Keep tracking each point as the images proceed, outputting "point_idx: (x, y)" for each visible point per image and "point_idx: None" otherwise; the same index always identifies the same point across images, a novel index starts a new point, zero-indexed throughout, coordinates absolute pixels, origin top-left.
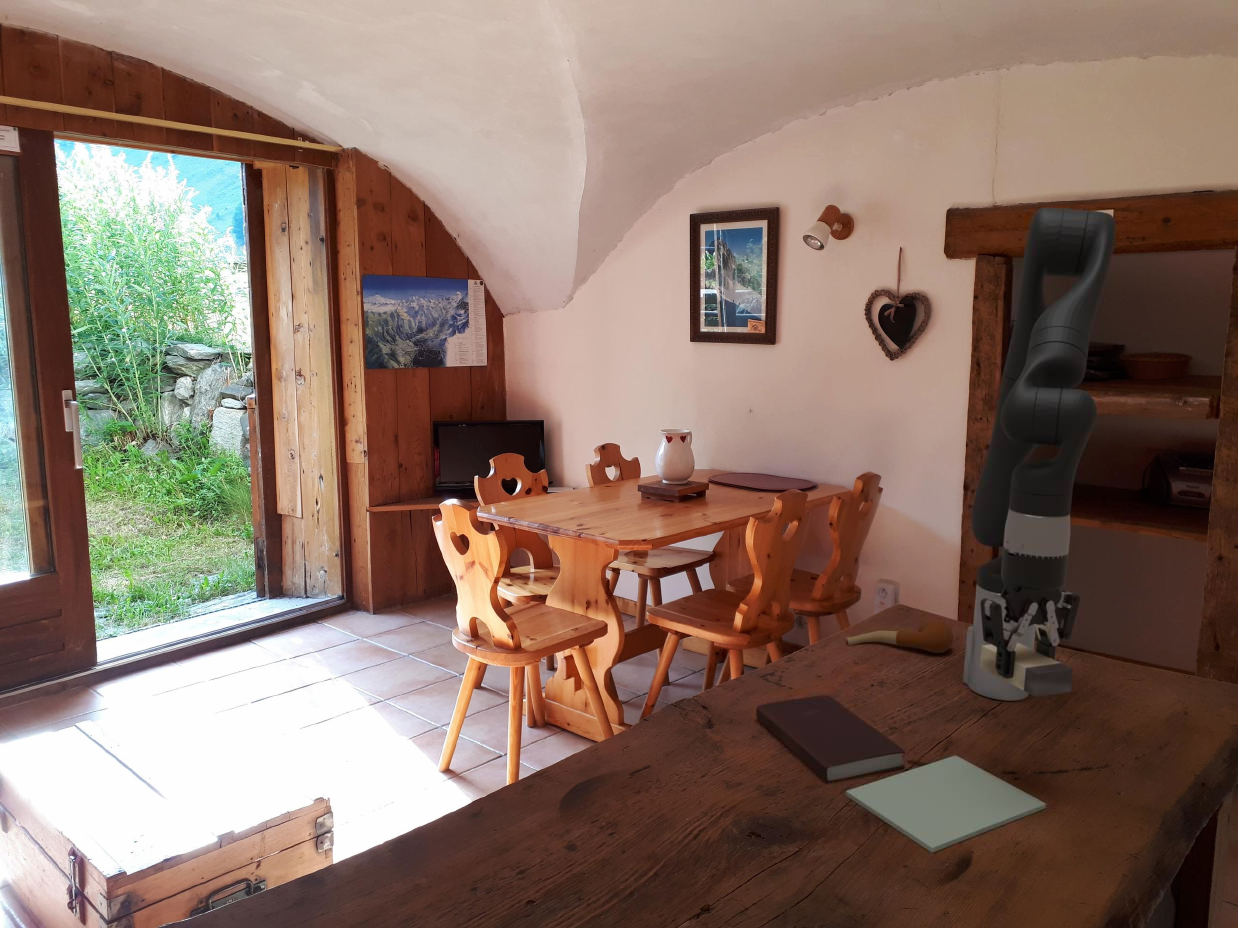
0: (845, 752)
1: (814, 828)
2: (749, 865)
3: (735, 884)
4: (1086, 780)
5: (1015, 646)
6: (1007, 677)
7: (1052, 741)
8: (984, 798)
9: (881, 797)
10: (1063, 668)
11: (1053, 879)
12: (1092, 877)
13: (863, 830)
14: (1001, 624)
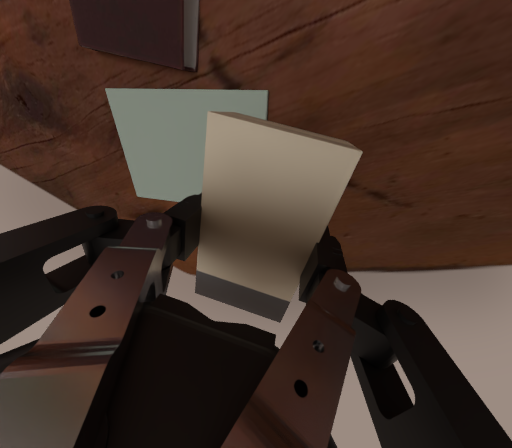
0: (105, 25)
1: (69, 121)
2: (18, 134)
3: (10, 146)
4: (348, 208)
5: (171, 271)
6: None
7: (438, 128)
8: None
9: (133, 119)
10: (263, 312)
11: (193, 251)
12: None
13: (105, 146)
14: (32, 318)
